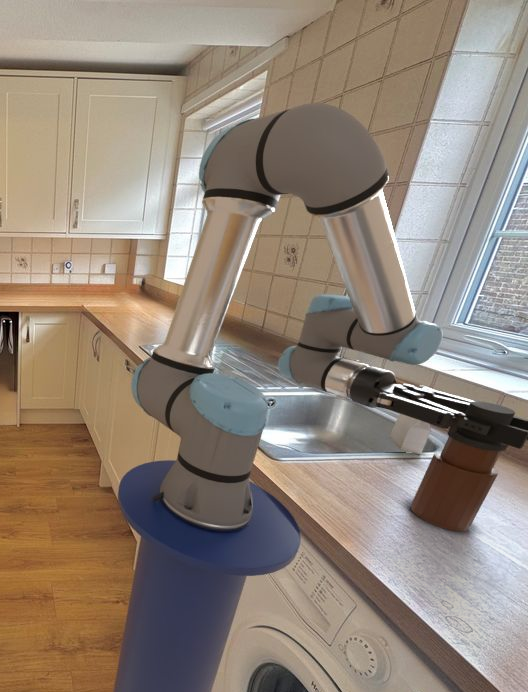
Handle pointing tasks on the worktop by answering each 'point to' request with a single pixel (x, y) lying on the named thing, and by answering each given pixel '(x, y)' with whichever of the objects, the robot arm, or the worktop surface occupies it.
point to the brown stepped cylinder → (455, 485)
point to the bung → (488, 412)
